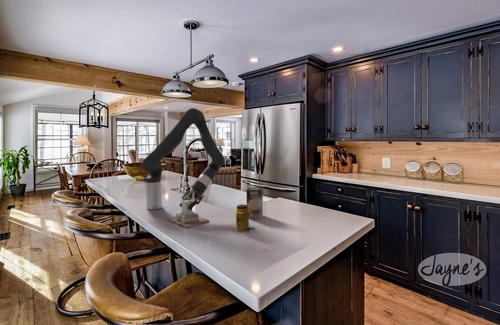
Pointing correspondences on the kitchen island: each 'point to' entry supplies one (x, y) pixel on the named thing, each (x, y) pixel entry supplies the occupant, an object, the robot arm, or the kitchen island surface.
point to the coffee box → (255, 202)
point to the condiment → (242, 219)
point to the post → (186, 208)
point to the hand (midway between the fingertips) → (184, 208)
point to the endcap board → (187, 220)
